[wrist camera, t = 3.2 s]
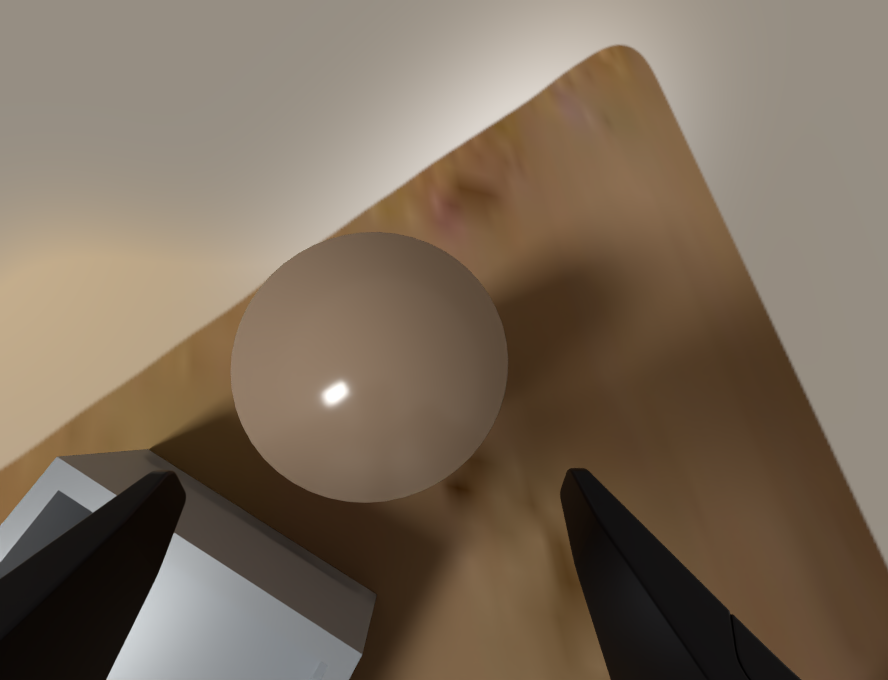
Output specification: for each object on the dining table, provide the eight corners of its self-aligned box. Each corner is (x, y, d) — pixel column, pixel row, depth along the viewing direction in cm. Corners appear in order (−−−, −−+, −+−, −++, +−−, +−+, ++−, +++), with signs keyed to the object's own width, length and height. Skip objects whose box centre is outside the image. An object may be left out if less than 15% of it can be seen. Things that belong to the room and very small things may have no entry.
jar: (470, 382, 19) (553, 312, 7) (418, 474, 18) (420, 562, 6) (384, 332, 19) (335, 189, 8) (328, 419, 18) (168, 405, 7)
